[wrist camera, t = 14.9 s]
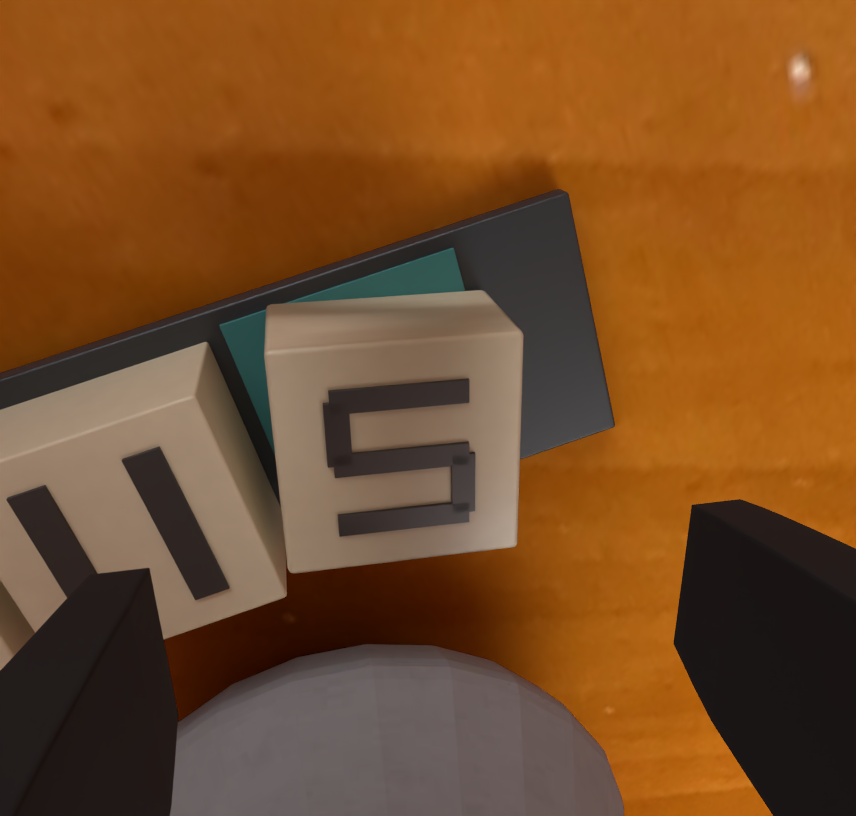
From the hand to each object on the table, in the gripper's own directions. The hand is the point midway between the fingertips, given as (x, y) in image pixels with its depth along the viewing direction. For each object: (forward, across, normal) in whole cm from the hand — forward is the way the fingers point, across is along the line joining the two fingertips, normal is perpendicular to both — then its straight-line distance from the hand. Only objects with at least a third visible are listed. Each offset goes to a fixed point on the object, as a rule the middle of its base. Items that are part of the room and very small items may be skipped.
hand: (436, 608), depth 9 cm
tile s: (+7, 0, 0) cm, 7 cm away
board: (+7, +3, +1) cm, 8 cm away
